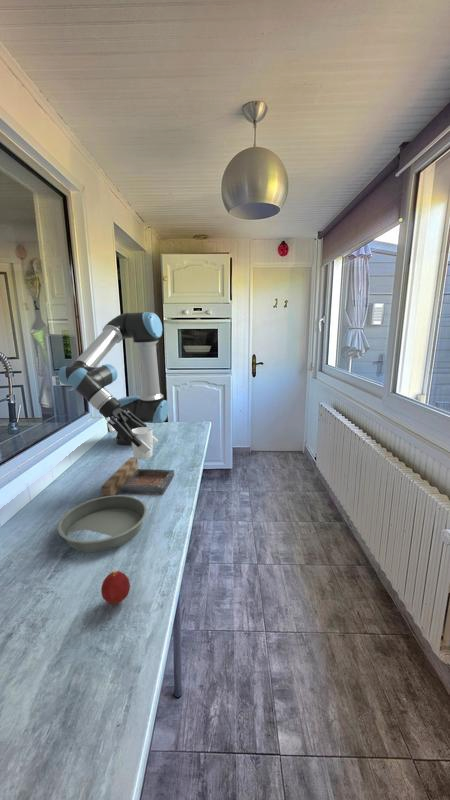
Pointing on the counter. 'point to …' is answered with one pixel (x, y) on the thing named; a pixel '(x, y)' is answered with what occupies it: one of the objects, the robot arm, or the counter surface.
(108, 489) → the board
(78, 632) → the counter surface
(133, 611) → the counter surface
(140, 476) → the square tray
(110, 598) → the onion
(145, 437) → the white cup
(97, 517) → the cake pan
